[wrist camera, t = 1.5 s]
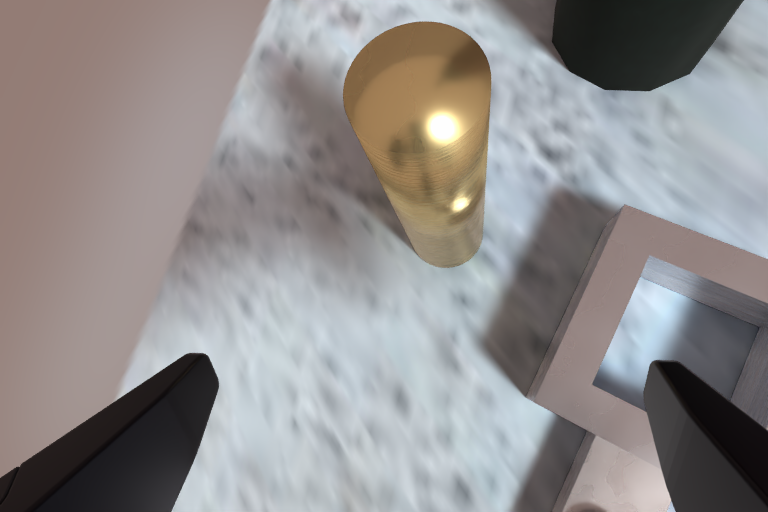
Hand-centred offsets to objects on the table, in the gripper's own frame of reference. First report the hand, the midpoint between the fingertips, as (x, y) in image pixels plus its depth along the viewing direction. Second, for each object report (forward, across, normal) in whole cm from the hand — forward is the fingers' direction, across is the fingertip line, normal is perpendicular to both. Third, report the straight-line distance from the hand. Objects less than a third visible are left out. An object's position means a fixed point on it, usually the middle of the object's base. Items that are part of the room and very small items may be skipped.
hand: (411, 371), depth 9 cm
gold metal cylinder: (+14, 0, +4) cm, 14 cm away
